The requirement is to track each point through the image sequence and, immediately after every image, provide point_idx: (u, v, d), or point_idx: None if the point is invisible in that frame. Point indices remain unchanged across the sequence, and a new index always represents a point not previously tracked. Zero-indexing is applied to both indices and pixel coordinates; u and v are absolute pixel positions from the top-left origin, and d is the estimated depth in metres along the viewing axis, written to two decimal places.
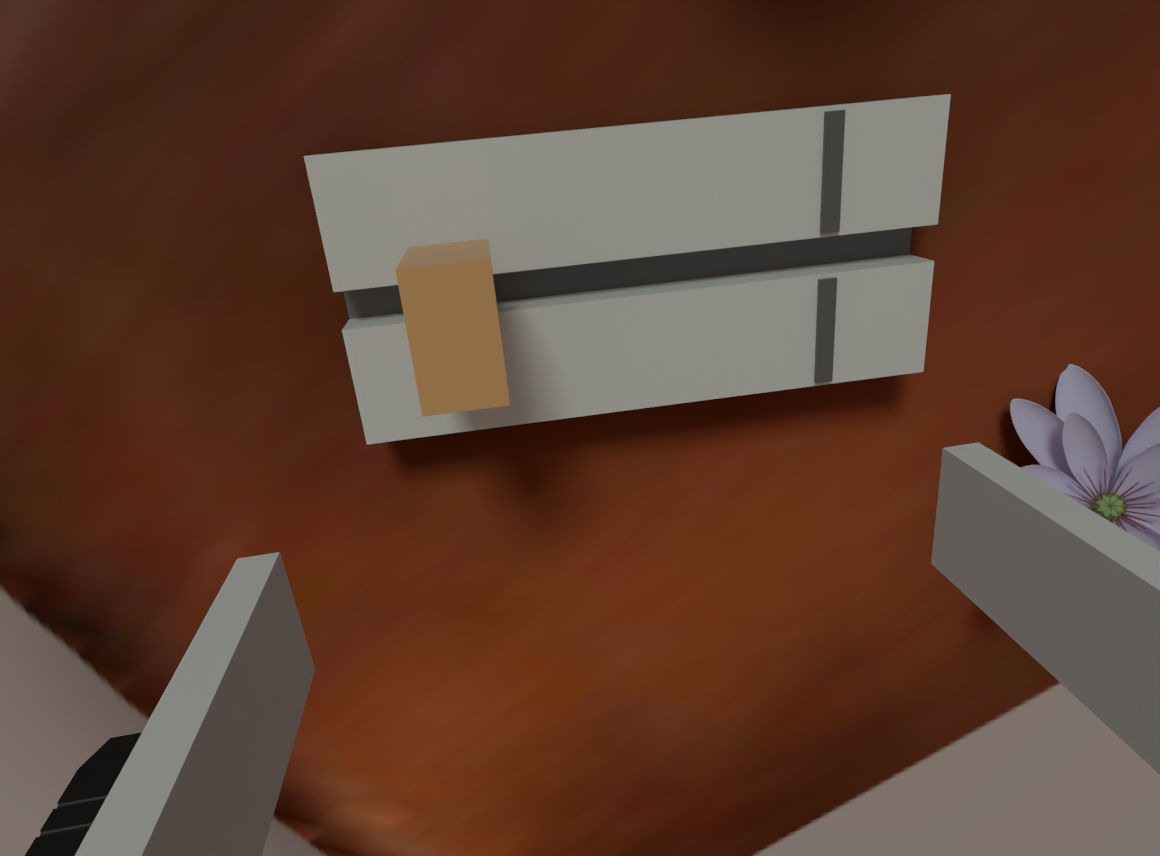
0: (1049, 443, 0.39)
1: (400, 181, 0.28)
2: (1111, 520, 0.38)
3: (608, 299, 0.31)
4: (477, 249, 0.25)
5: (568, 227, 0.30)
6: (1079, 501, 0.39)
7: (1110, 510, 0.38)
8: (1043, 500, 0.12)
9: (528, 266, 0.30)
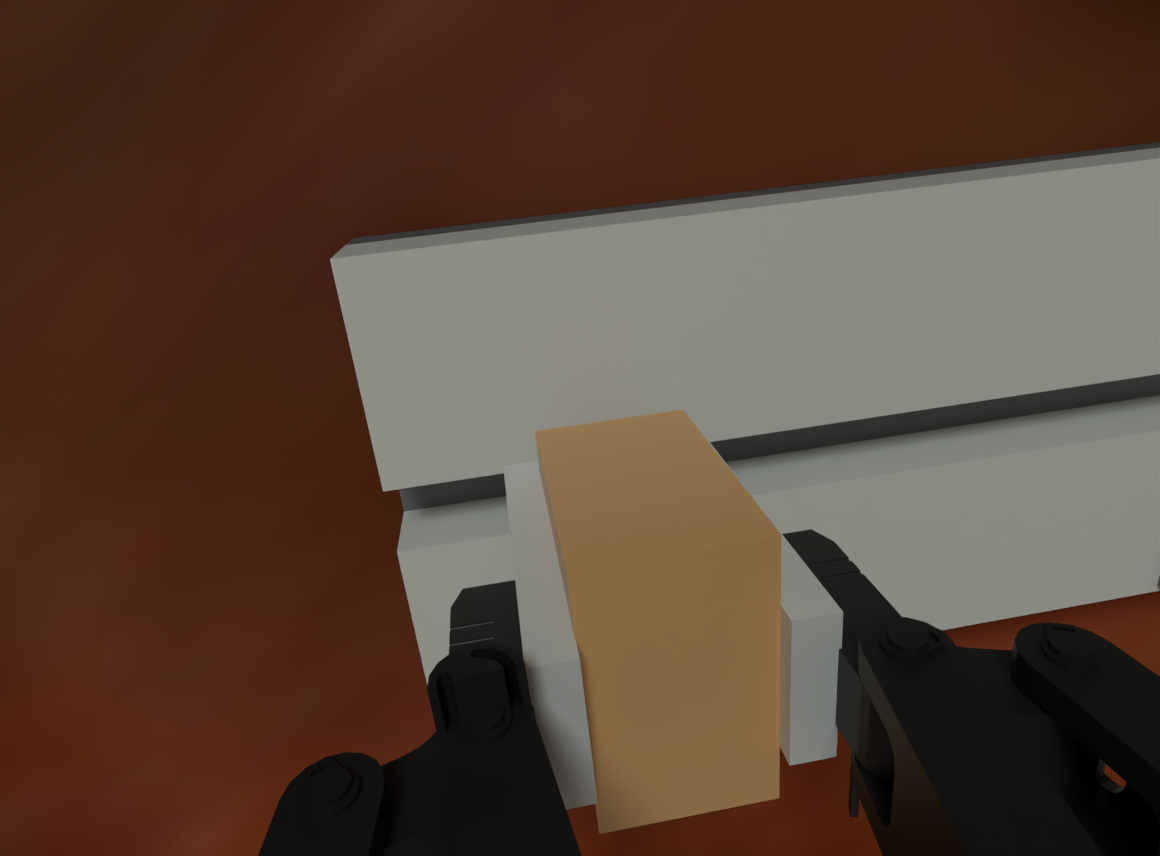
0: None
1: (509, 298, 0.15)
2: None
3: (853, 479, 0.18)
4: (700, 465, 0.12)
5: (800, 366, 0.17)
6: None
7: None
8: None
9: (725, 433, 0.17)
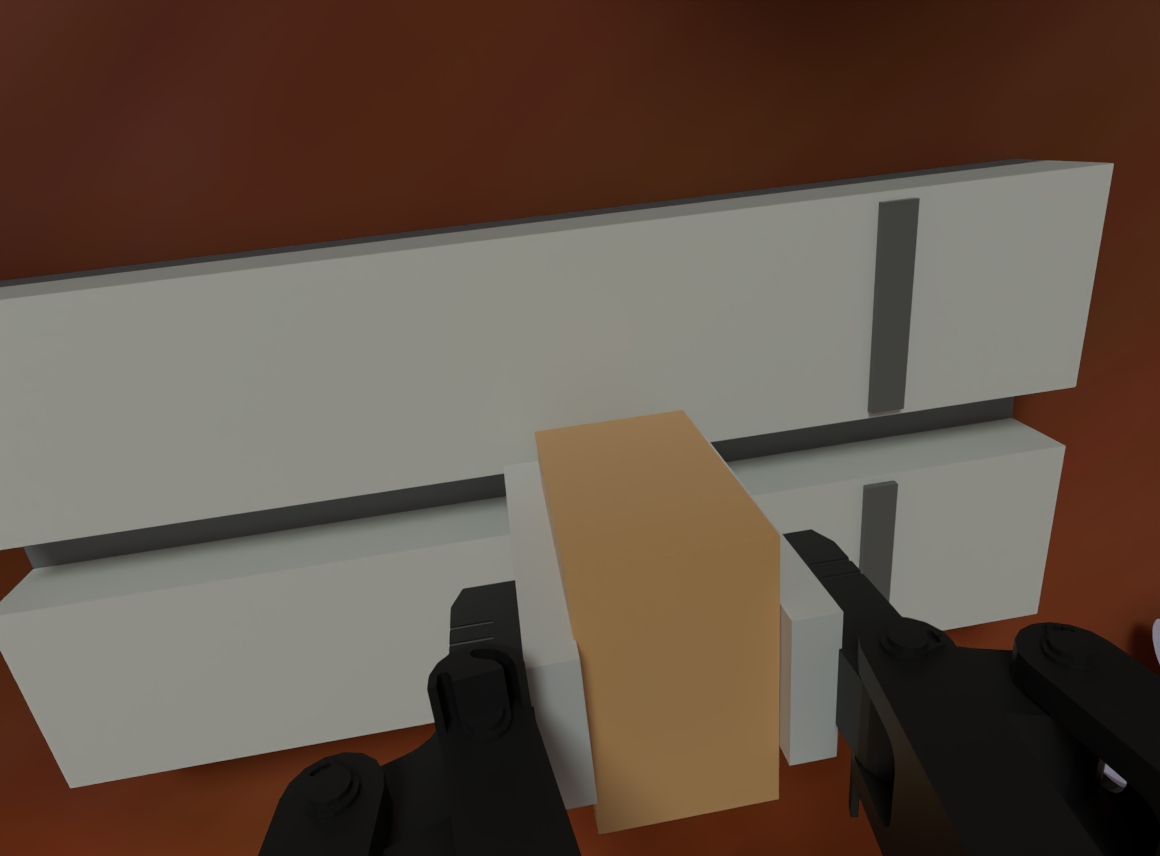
0: None
1: (49, 358, 0.14)
2: None
3: (487, 538, 0.17)
4: (699, 466, 0.12)
5: (400, 424, 0.16)
6: None
7: None
8: None
9: (330, 493, 0.16)
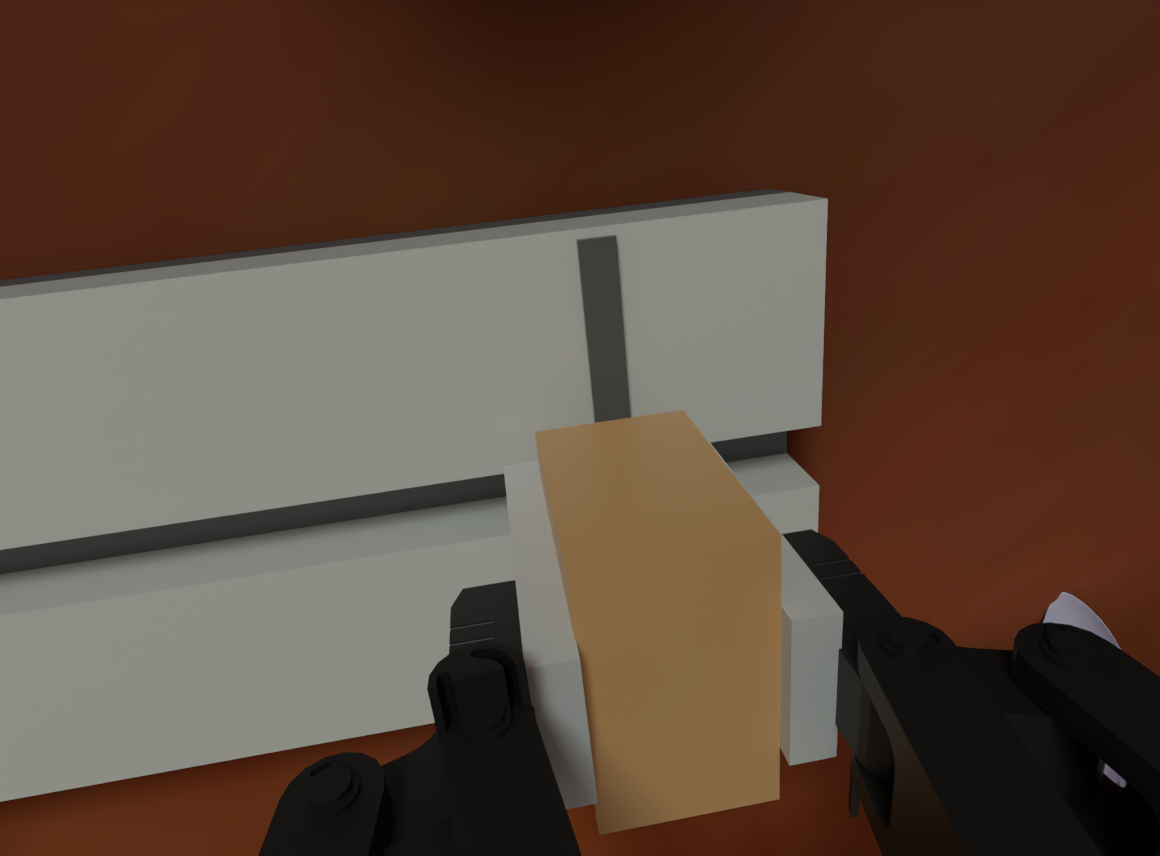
0: None
1: None
2: None
3: (201, 584, 0.17)
4: (700, 466, 0.12)
5: (84, 469, 0.15)
6: None
7: None
8: None
9: (19, 540, 0.16)
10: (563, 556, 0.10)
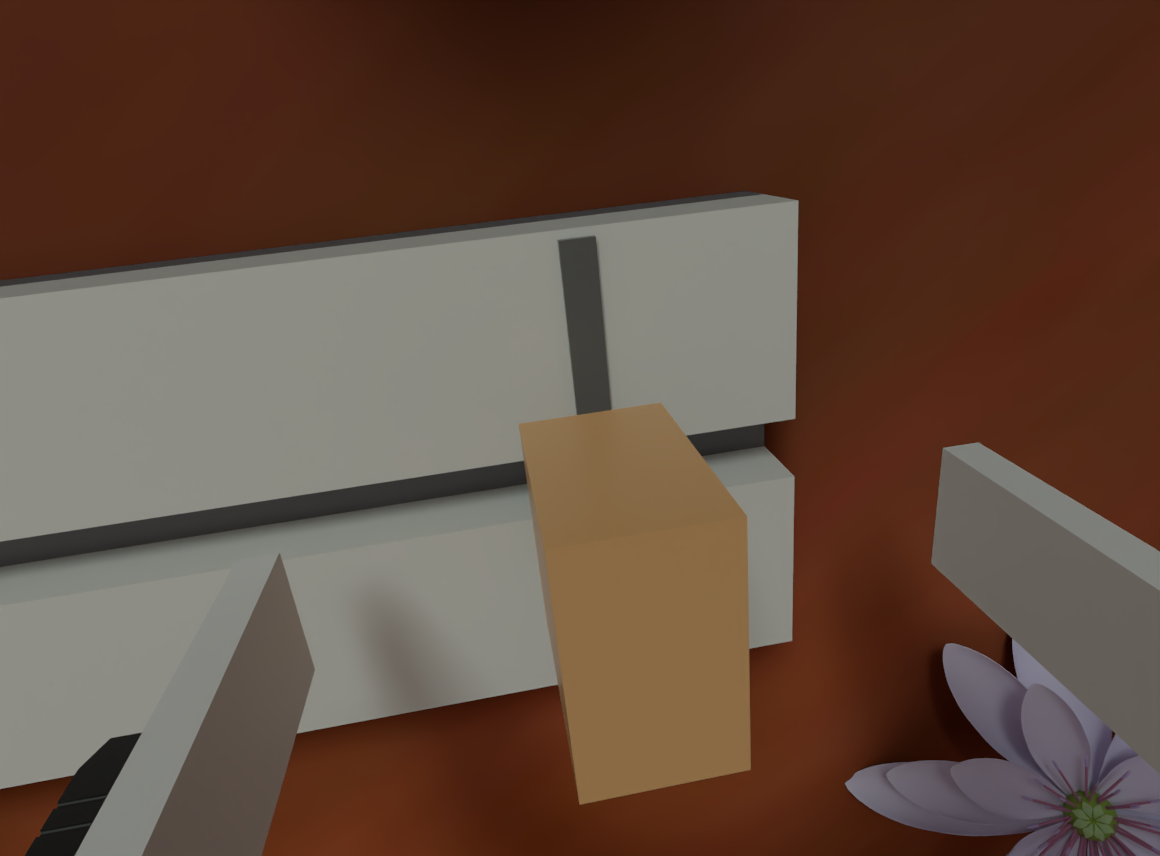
0: (1002, 707, 0.25)
1: None
2: (1094, 841, 0.24)
3: (196, 574, 0.17)
4: (674, 454, 0.13)
5: (83, 463, 0.16)
6: (1046, 801, 0.25)
7: (1093, 828, 0.24)
8: (1043, 500, 0.12)
9: (19, 532, 0.16)
10: (542, 537, 0.11)
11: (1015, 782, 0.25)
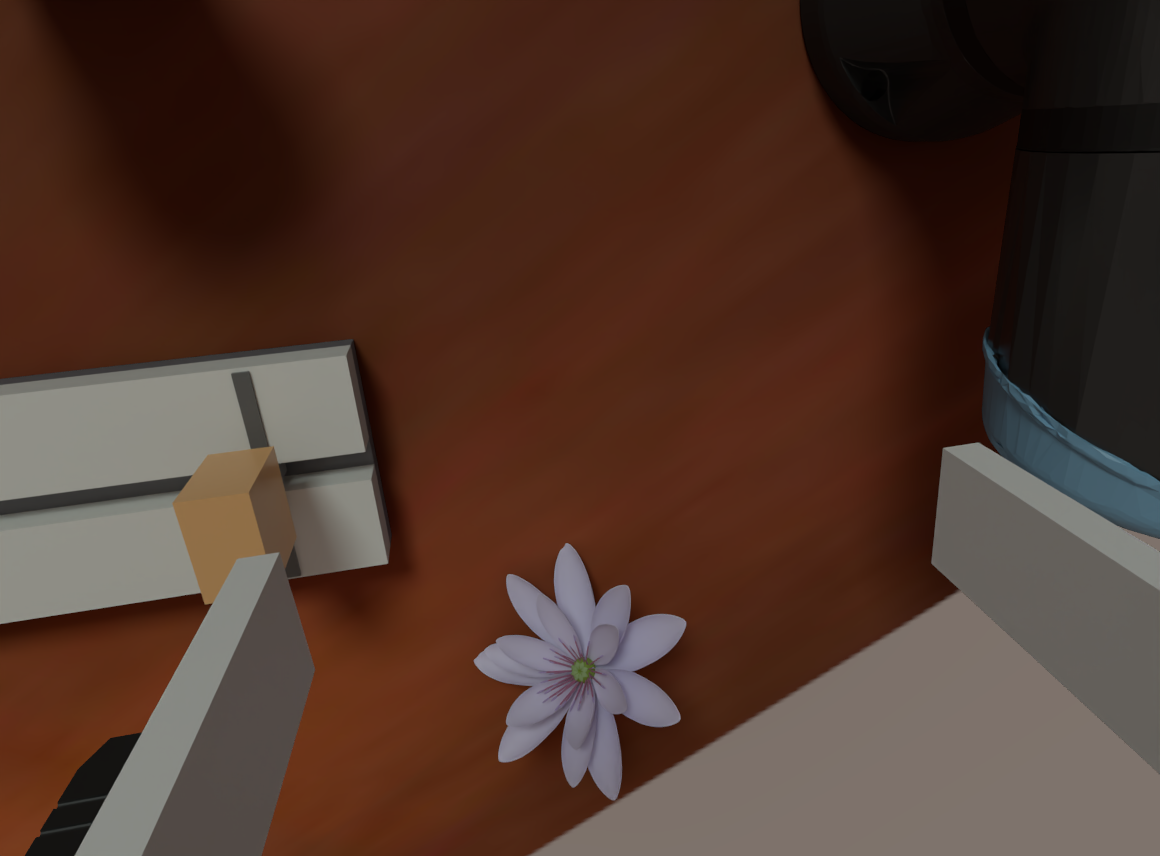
0: None
1: None
2: (581, 683, 0.44)
3: (69, 521, 0.36)
4: (252, 469, 0.32)
5: (14, 468, 0.35)
6: (563, 663, 0.45)
7: (579, 675, 0.44)
8: (1043, 500, 0.12)
9: None
10: (175, 499, 0.30)
11: (543, 651, 0.45)
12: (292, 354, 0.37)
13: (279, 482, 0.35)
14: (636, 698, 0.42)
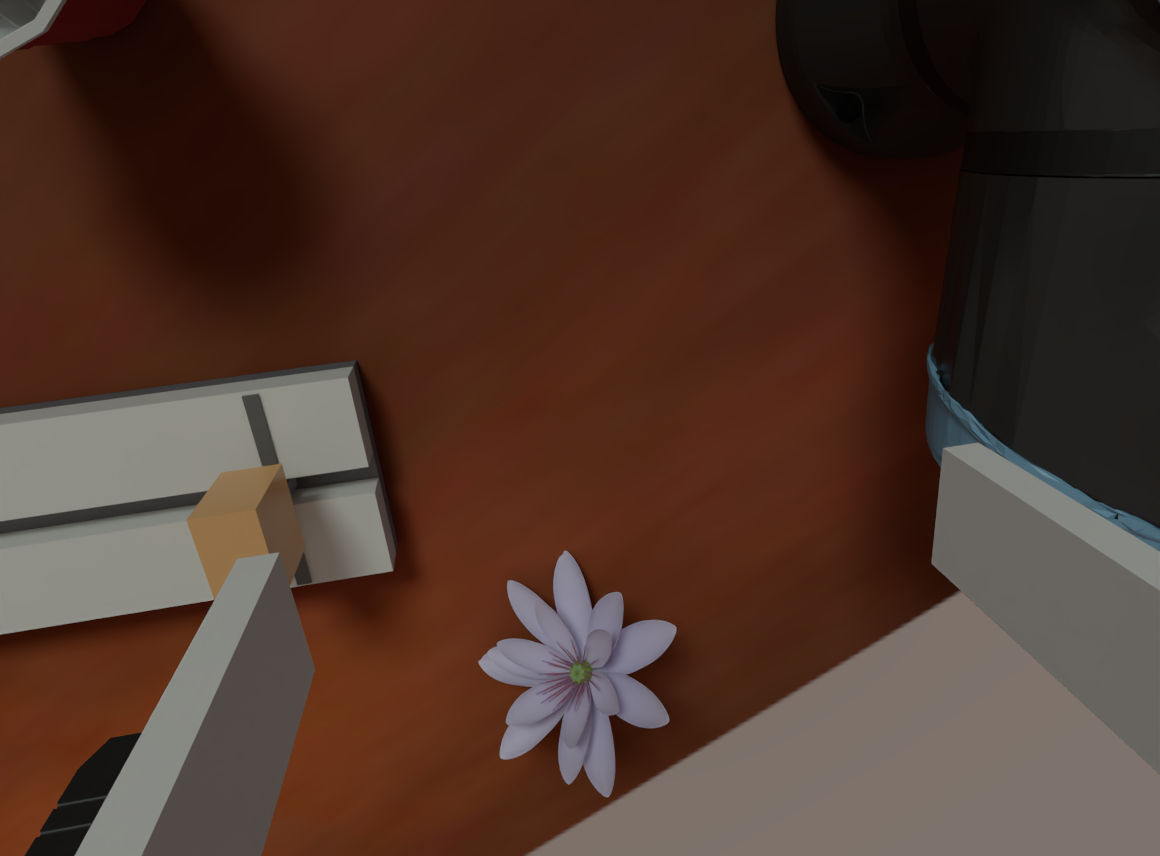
0: None
1: None
2: (579, 684, 0.46)
3: (98, 534, 0.39)
4: (260, 487, 0.35)
5: (48, 486, 0.38)
6: (562, 665, 0.47)
7: (576, 677, 0.46)
8: (1043, 500, 0.12)
9: (21, 515, 0.38)
10: (189, 516, 0.33)
11: (543, 654, 0.47)
12: (299, 376, 0.39)
13: (287, 497, 0.37)
14: (630, 700, 0.44)
